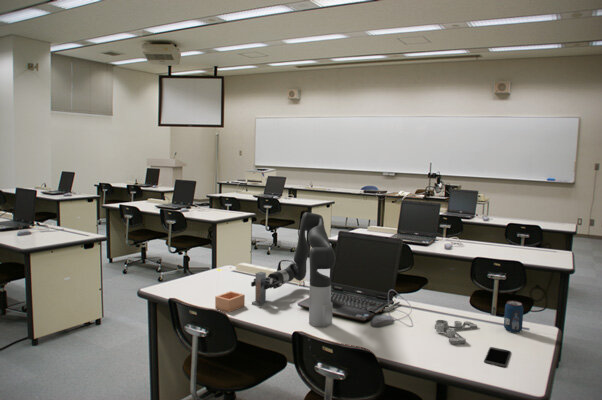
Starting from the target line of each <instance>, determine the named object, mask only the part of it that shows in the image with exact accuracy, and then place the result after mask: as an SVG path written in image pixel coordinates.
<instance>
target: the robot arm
mask: <svg viewBox="0 0 602 400" xmlns="http://www.w3.org/2000/svg"><path fill="white" fill-rule="evenodd" d="M324 222H325V221H324V218H323V216H322V215H320V214H318V213H313V212H310V211H309V212H308V211H306V212H304V213H303V214H302V217H301V221H300V226H299V231H298V232H299V233H298V238H297V244H296V245H297V246H296V250H295V253H294V257H293V263H292V262H291V263H289V265H288V266H287V267H286V268H284V269H281V270H276V271H274V272H271V273H269V274H268V276H266V285H264V289H265V290H266V291H267V290H268V289H272V288H273V289H278V288H281V287H282V286H283V285H285V284H287V283H291V282H292V281H293V280H294V279H295V280H296V281H299V282H300V281H303V280H304V279H305V278H306V275H307V260H309V290H308V291H309V292H308V293H309V295H308V299H309V300H308V306H309V307H308V311H309V312H308V324H309V325H310V326H312V327H316V328H326V327H328V326H330V325H331V324H333V305H334V303H333V301H332V299H331V298H332V297H331V296H332V279H331V277H329V276H328V275H325V274H322V273H320V272H319V271H318V270H331V269H333V268H334V267H335V265H336V254H335V250H334V248H333V247H332V245H331V242H330V241H329V237H328V234H327V231H326V229H325V223H324ZM306 231H309V232H308V233H307V237H306ZM307 240H308V241H307ZM309 246H310V247H309ZM310 248H311V249H310ZM308 257H309V259H308ZM295 265H296V266H295ZM296 267H297V268H296ZM250 286H251V287H252V288H253V287H256V277H254V278H253V281H251V282H250Z"/></svg>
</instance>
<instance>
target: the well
mask: <svg viewBox="0 0 602 400" xmlns="http://www.w3.org/2000/svg"><path fill="white" fill-rule="evenodd" d="M245 297H246V296H245V294H243V293H239V292H235V291H231V290H230V291H228V292H225V293H221V294H218V295H217V296H215V303H214V305H215V306H214V307H215V309H217V310H221V311H225V312H228V313H230V312H232V311H235V310H238V309H240V308H243V307H245V302H246V301H245Z"/></svg>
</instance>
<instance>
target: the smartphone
mask: <svg viewBox="0 0 602 400" xmlns="http://www.w3.org/2000/svg"><path fill="white" fill-rule="evenodd" d="M511 354H512V353H511V350H509V349H508V350H507V349H502V348H499V347H492V346H490V347H489V348H488V351H487V353H486V355H485V357H484V360H483V363H484V364H487V365H490V366H495V367H499V368H503V369H505V368H507V366H508V363H509V360H510V357H511Z"/></svg>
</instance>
